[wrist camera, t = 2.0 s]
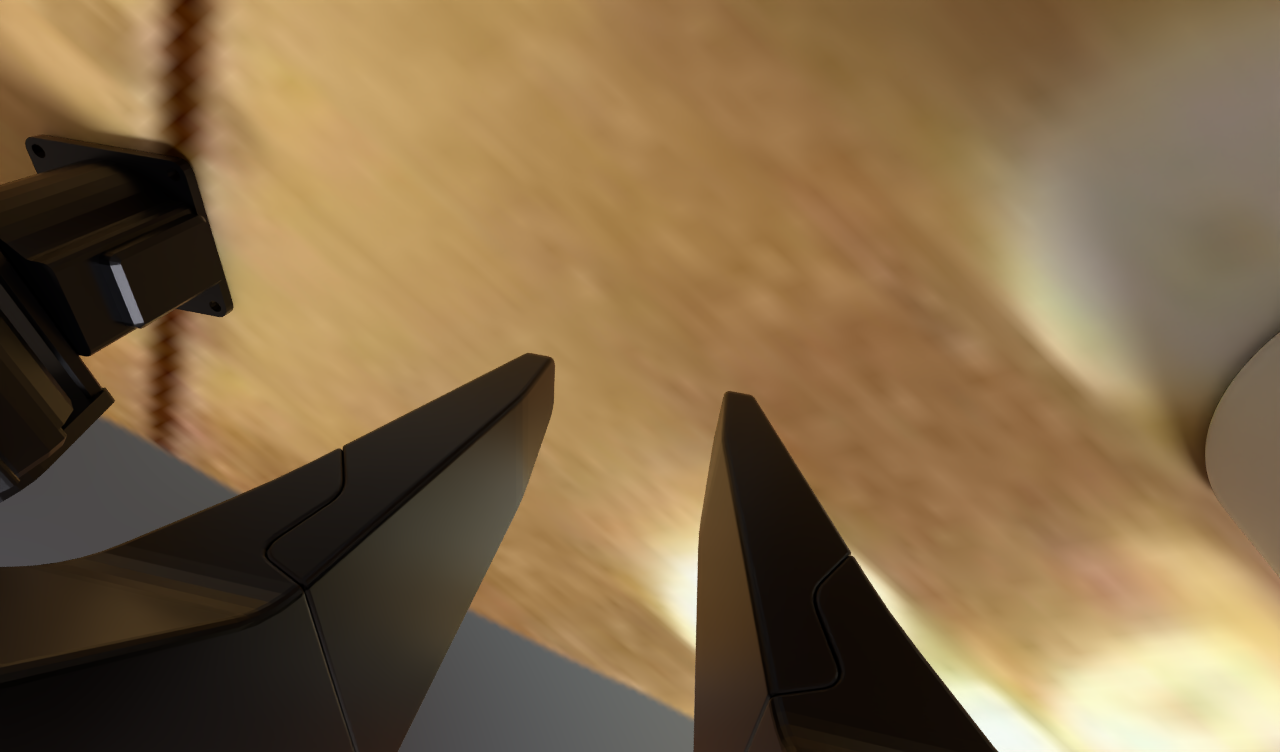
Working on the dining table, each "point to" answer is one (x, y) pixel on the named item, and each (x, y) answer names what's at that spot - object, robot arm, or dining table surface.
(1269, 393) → the cylinder vase
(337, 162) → the dining table surface
